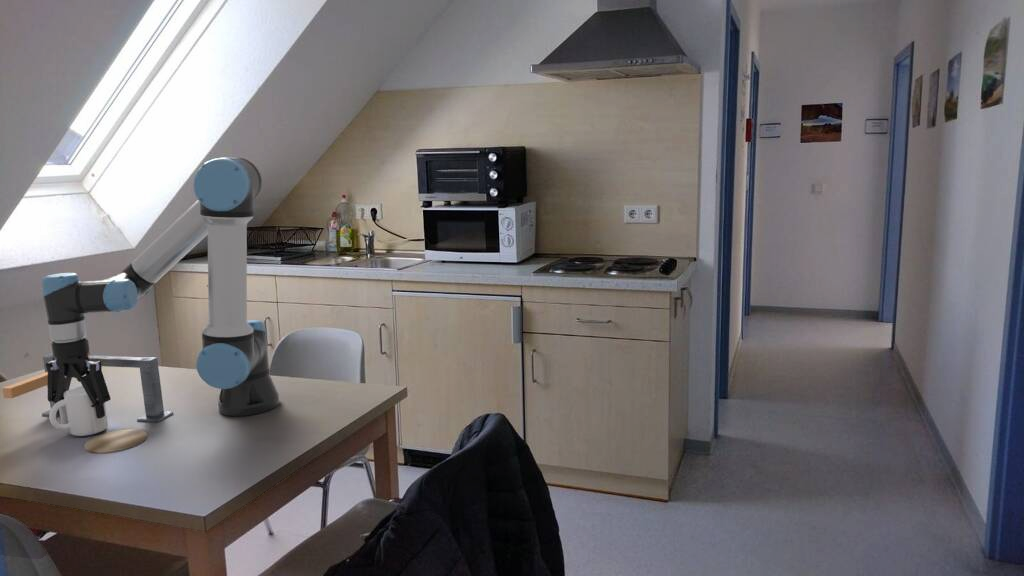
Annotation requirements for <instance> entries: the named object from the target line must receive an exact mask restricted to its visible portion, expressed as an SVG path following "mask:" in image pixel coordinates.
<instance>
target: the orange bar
mask: <svg viewBox="0 0 1024 576" xmlns="http://www.w3.org/2000/svg"><path fill="white" fill-rule="evenodd" d="M88 355H90V356H91V351H90V350H89V352H88ZM47 385H48V372H46V373H45V372H43V373H40V374H37V375H34V376H32V377H30V378H26V379H24V380H21V381H18V382H15V383H12V384H9V385H7V386H4V387H2V388H1V389H2V394H3V398H4V399H15V398H16V397H19V396H22V395H25V394H28V393H30V392H33V391H35V390H38V389H41V388H43V387H45V386H46V387H47Z"/></svg>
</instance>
